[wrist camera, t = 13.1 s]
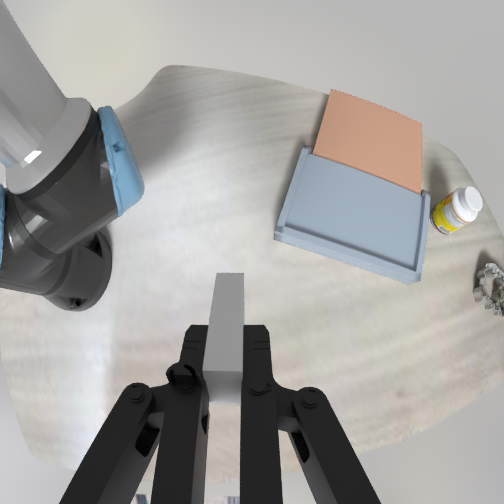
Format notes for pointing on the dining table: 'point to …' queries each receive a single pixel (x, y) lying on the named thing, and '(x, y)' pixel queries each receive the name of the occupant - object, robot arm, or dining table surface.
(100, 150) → the robot arm
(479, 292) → the egg carton
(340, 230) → the blue-grey tray
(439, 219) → the supplement bottle
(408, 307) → the dining table surface
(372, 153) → the panel
